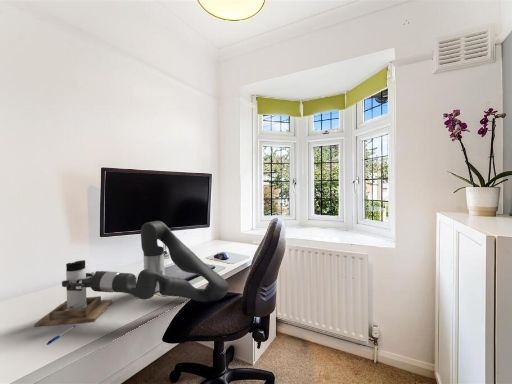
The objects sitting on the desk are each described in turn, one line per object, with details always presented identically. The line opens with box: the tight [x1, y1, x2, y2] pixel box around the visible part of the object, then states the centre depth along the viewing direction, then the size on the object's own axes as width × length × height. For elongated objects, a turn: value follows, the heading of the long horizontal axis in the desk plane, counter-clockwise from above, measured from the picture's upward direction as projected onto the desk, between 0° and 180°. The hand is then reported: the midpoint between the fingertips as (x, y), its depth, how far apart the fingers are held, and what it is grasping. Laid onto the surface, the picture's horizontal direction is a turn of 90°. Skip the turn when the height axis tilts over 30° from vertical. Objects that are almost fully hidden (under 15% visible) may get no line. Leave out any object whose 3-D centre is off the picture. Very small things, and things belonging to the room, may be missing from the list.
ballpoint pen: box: [46, 325, 76, 345], centre depth 84 cm, size 10×1×1 cm, turn 176°
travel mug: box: [65, 259, 87, 311], centre depth 98 cm, size 6×7×20 cm
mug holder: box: [34, 295, 113, 327], centre depth 98 cm, size 20×16×4 cm
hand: (72, 279), depth 98 cm, fingers open, 8 cm apart
